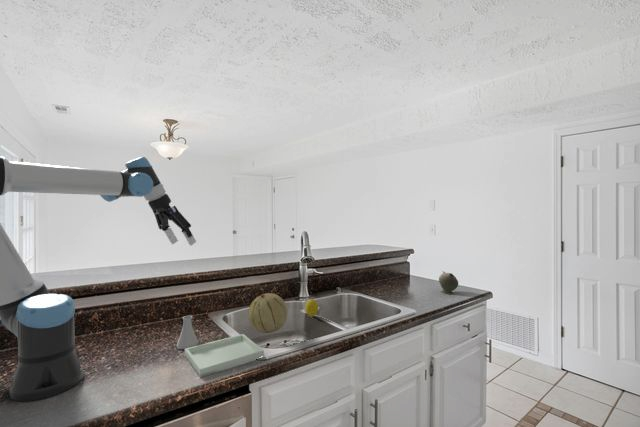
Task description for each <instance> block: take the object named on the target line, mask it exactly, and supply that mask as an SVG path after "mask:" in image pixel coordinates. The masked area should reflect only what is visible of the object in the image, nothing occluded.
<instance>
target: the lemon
mask: <svg viewBox="0 0 640 427" xmlns="http://www.w3.org/2000/svg"><path fill="white" fill-rule="evenodd" d="M304 306H305V308H304V311H305V312H306V314H307V316H309V317H310V318H313V317H314V316H315V315H317V314H318V311H319V305H318V302H317V301H316V300H315V299H313V298H310V299H308V300H307V301H306V303H305V305H304Z"/></svg>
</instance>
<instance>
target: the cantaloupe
mask: <svg viewBox="0 0 640 427" xmlns="http://www.w3.org/2000/svg"><path fill="white" fill-rule="evenodd" d="M288 313H289V312H288V306H287V304H286V302H285V301H284V300H283V298H282V297H281V296H279V295H278V294H275V293H272V292H269V293H262V294H260V295H259V296H257V297H256V298H254V300H253V301H252V302H251V303H250V306H249V309H248V317H249V321H250V324H251V326H252V327H253V329H254V330H256V331H257V332H259V333H263V334H270V333H271V334H272V333H274V332H277V331H279V330H280V329H282V327H284V325H285V323H286V321H287V319H288Z"/></svg>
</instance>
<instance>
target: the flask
mask: <svg viewBox="0 0 640 427" xmlns="http://www.w3.org/2000/svg"><path fill="white" fill-rule="evenodd" d="M192 319H193V315H184V316H182V320H183V325H182V329H181V332H180V334H179V338H178V340H177V343H176V346H175V347H176V348H177V350H185V349H186V348H190V347H194V346H198V345H200V344H199V341H198V339H197V336H196V333H195V330H194V328H193V323H192Z"/></svg>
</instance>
